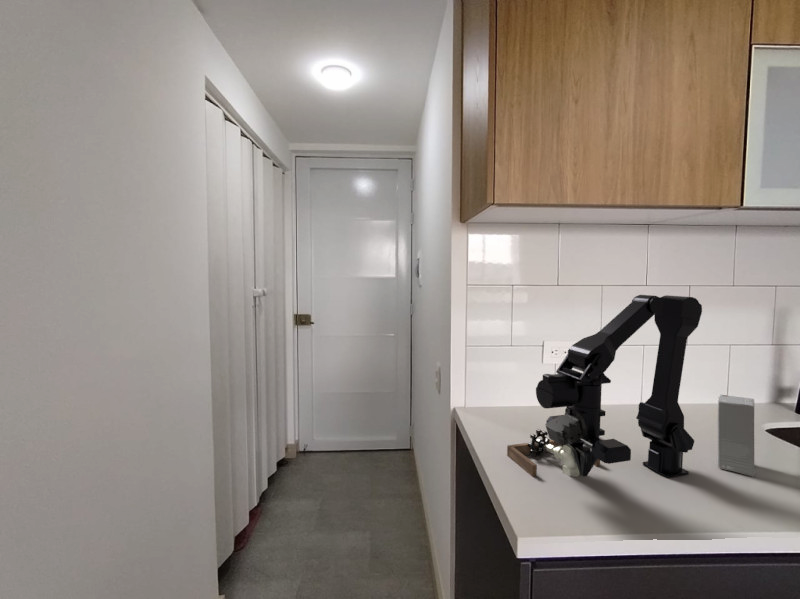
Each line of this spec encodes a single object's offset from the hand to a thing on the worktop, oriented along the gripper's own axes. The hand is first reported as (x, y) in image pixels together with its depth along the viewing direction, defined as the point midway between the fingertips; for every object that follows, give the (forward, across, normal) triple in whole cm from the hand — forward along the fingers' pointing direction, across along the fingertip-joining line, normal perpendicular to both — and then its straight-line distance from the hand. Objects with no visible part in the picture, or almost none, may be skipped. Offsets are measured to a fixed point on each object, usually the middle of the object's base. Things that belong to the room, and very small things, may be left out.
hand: (583, 475), depth 85 cm
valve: (+2, -8, 0) cm, 8 cm away
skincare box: (+2, +3, +39) cm, 39 cm away
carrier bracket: (+2, -10, 0) cm, 10 cm away
